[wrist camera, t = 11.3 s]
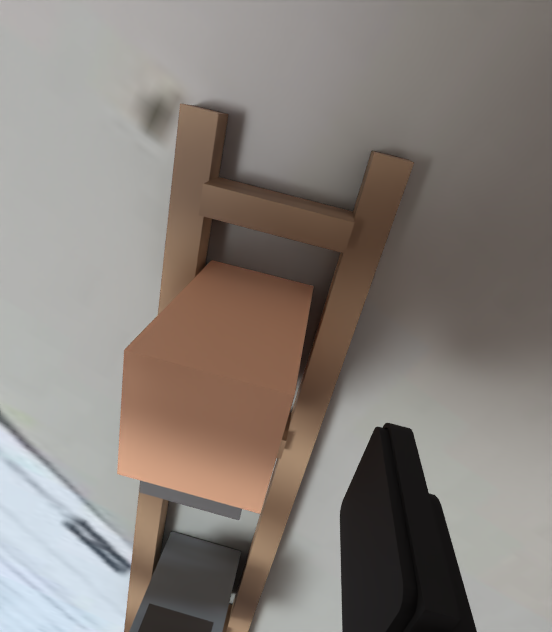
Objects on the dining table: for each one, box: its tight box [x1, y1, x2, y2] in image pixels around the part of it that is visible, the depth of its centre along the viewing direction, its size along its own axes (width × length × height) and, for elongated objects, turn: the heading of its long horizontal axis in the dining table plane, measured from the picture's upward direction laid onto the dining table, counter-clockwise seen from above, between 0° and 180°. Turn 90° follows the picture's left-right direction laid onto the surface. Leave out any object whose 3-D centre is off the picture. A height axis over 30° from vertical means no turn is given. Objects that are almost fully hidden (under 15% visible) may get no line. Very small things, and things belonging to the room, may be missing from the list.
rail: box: [124, 104, 414, 632], centre depth 17 cm, size 30×7×7 cm, turn 167°
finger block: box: [117, 260, 314, 520], centre depth 13 cm, size 5×4×7 cm
